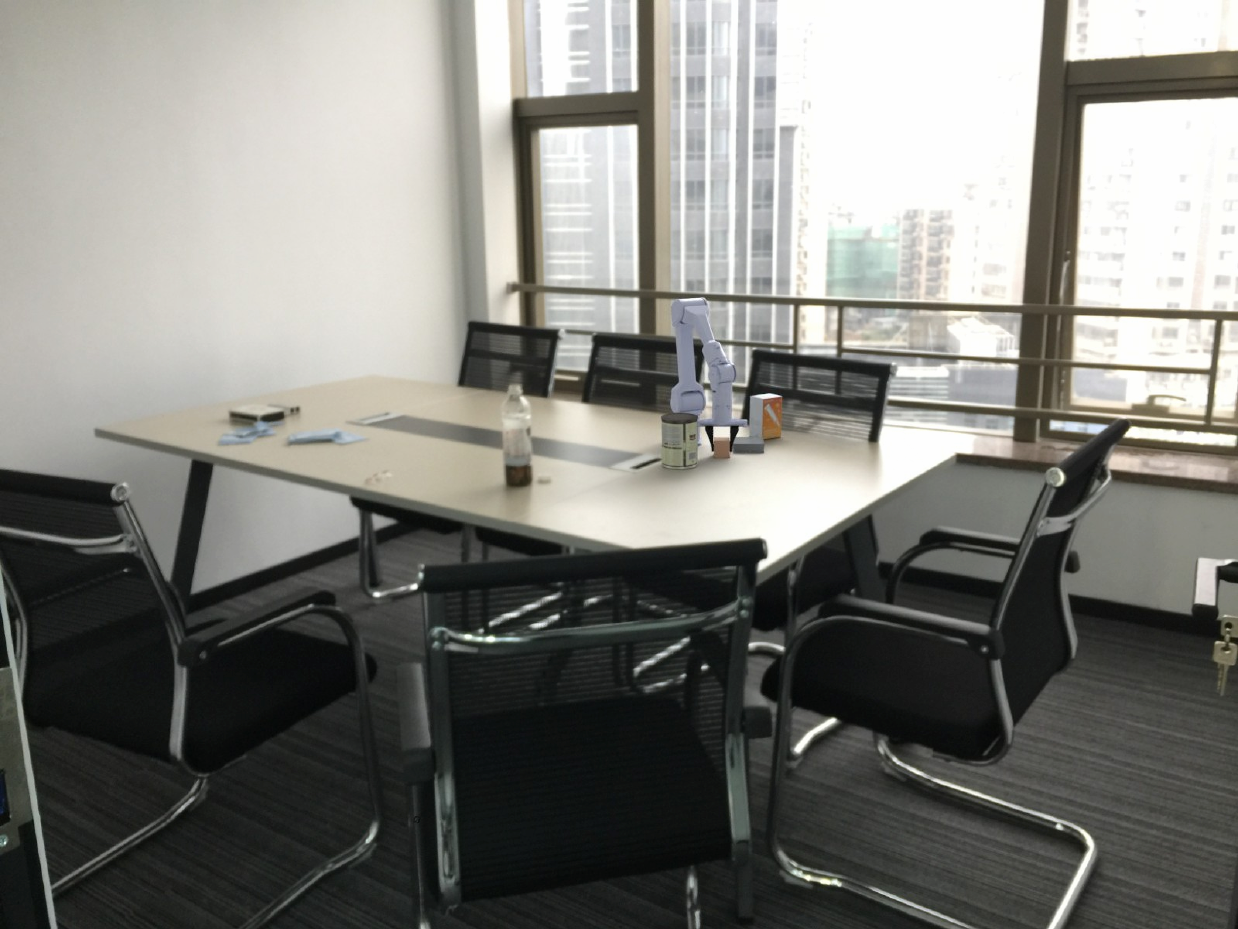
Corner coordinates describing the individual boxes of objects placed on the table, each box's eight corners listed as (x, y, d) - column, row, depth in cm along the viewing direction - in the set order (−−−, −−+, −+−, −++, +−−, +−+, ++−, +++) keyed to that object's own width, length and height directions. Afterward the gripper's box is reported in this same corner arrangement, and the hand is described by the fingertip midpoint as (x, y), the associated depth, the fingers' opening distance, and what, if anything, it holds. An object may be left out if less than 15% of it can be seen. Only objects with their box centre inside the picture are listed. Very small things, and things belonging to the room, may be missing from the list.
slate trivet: (733, 453, 316) (733, 443, 315) (732, 446, 325) (732, 436, 324) (763, 453, 315) (764, 443, 314) (762, 446, 324) (762, 436, 323)
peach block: (713, 457, 310) (714, 440, 308) (713, 453, 314) (713, 437, 313) (729, 457, 309) (729, 440, 308) (729, 453, 314) (729, 437, 312)
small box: (762, 440, 330) (762, 398, 327) (748, 436, 335) (749, 395, 332) (781, 436, 334) (782, 395, 331) (768, 433, 339) (769, 392, 336)
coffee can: (667, 459, 308) (667, 411, 305) (701, 461, 305) (702, 413, 302) (656, 468, 299) (656, 418, 295) (692, 470, 296) (692, 420, 292)
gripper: (696, 407, 305) (696, 454, 308) (747, 407, 303) (747, 454, 307) (696, 403, 311) (696, 448, 315) (747, 403, 310) (746, 448, 314)
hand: (721, 451), depth 311 cm, fingers closed on peach block, 4 cm apart
